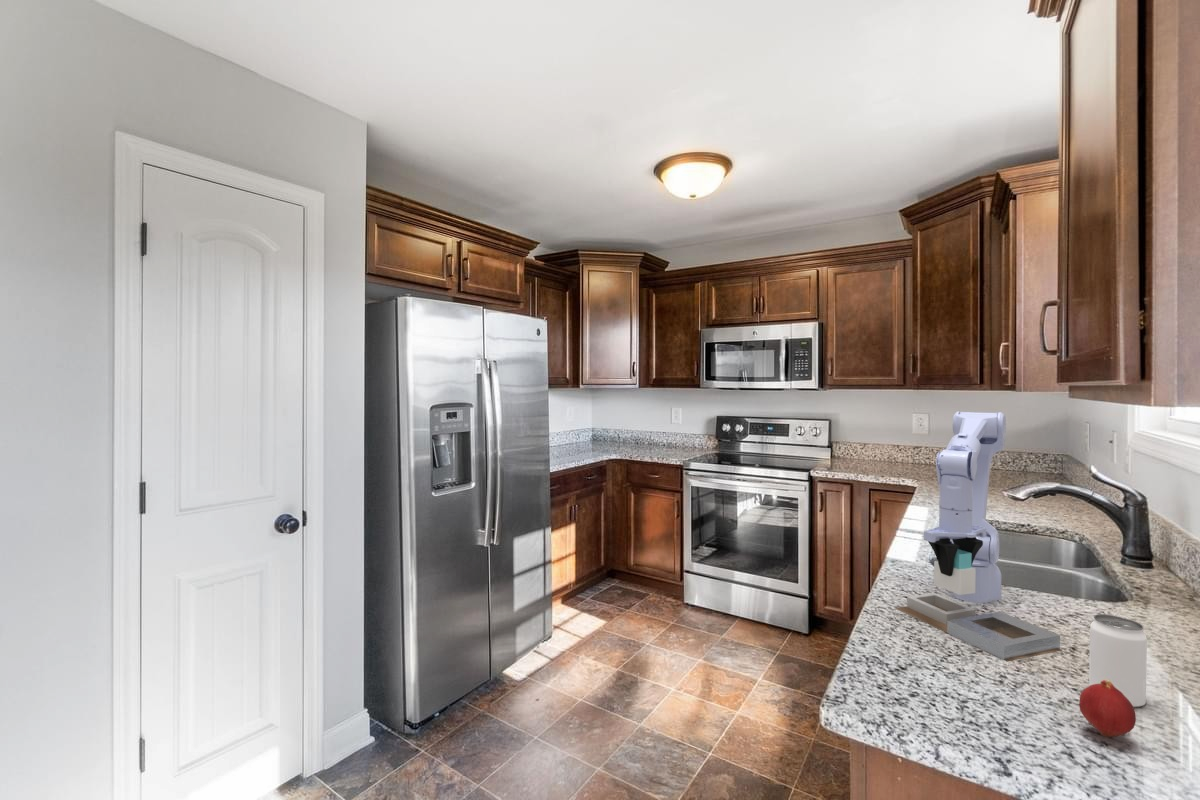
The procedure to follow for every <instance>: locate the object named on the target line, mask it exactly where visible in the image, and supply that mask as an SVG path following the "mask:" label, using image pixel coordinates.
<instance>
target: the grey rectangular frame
mask: <svg viewBox="0 0 1200 800" xmlns="http://www.w3.org/2000/svg"><path fill="white" fill-rule="evenodd" d="M906 598H907V599H906V600H907V602H906V606H907V607H908V608H911V609H913V610H915V611H917V612H919V613H921V614H924V615H926V616H928V617H930V618H932V619H934V620H937V621H939V622H941V623H943V624H945V625H947V620H952V619H959V618H965V617H971V616H976V614H977V610H976V608H972V607H971V606H968V605H966V604H963V603H961V602H958V601H956V600H953V599H950V598H948V597H945V596H943V595H941V594H938V593H936V592H931V593H926V594H918V595H911V596H907V597H906ZM933 605H936V606H938V607H940V608H943V609H945V610H947V612H946V611H944V610H942V609H939V608H937V607H935V606H933Z"/></svg>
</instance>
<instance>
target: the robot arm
mask: <svg viewBox="0 0 1200 800" xmlns="http://www.w3.org/2000/svg"><path fill="white" fill-rule="evenodd" d="M1006 421H1007V420H1006V415H1005V414H1004V413H1003V412H1002V411H1001V412H1000V411H999V412H976V411H975V412H972V411H967V412H966V411H960V410H959V411H956V412H955V413H954V414H953V418H952V433H953V434H954V435H953V436H952V437H951V438H950V440H949V442H948V444H947V446H946V447H945V449H942V451H938V452H937V454H936V457H935V459H936V460H935V469H936V474H937V485H938V486H939V508H938V509H939V512H938V515H939V516H938V522H939V524H938V526H936V527H934V528H931V529H928V530H923V541H926V542H928V544H929V546H930V547H931V549H932V550H933V552H934V555H935V557H936V561H938V564H939V568H940V572H941V573H942V574H944V575H947V576H952V574H953V568H954V559H955V555H956V552H957V550H958V549H960V550H963V551H966V552H969V553H972V556H971V567H972V568H975V569H976V579H975V593H972V594H964V595H959V594H956V593H954V592H951V595H952V596H953V597H955V598H957V599H959V600H962V601H965V602H970V603H974V604H975V603H976V604H986V603H990V602H992V601H997V600H1002V572H1001V570H1000V568H999V567H998V565H997V563H998V562H999V556H1000V533H999V532H998V529H996V528H995V527H994V526H993V524H990V523H989V522H988V521H986V516H987V507H988V498H989V496H988V495H989V486H990V485H989V484H990V477H991V476H990V473H991V464H992V460H993V458H994V455H995V454H996V453H998V452H1001V451H1002V450H1004V449H1003V448H1004V446H1005V440H1006V439H1005V438H1006V429H1007V426H1006V425H1007V423H1006ZM1002 601H1004V600H1002Z"/></svg>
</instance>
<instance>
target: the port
mask: <svg viewBox="0 0 1200 800" xmlns="http://www.w3.org/2000/svg"><path fill="white" fill-rule="evenodd" d="M992 630H995V631H997V632H1000V633H1002V634H1004V635H1007V636H1009V637H1011V638H1014V639H1011V638H1008V637H1006V636H1004V635H1002V634H999V633H997V632H995V631H992ZM946 634H949V635H950V634H951V635H950V636H952V635H953V636H952V637H954V636H955V638H956V637H957V639H958V638H959V640H961V641H962V642H965V643H967V644H969V645H971V644H972V645H971V646H973V645H974V646H973V647H975V646H976V647H975V648H977V647H978V649H979V648H980V650H982V651H984V652H986V653H988V654H990V655H992V654H993V656H994V655H995V656H994V657H996V656H997V658H998V657H999V658H998V659H1000V658H1001V659H1000V660H1002V659H1003V660H1002V661H1005V660H1007V659H1012V658H1017V657H1021V656H1026V655H1031V654H1036V653H1041V652H1046V651H1051V650H1056V649H1061V635H1060V634H1058V633H1056V632H1052V631H1051V630H1048V629H1045V628H1043V627H1040V626H1038V625H1035V624H1032V623H1030V622H1028V621H1025V620H1023V619H1020V618H1017V617H1014V616H1012V615H1009V614H1008V613H1005V612H1002V611H996V612H989V613H984V614H978V615H977V616H971V617H965V618H959V619H952V620H947V633H946Z"/></svg>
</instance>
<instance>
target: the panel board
mask: <svg viewBox="0 0 1200 800" xmlns="http://www.w3.org/2000/svg"><path fill="white" fill-rule="evenodd" d="M933 606H935V607H937V608H939V609H942V610H944V611H946V612H947V610H945V609H943V608H940V607H938V606H936V605H933ZM895 609H896V610H898V611H900V612H902V613H904V614H906V615H908V616H910V617H913V618H914V619H917V620H919V621H920V622H923V623H925V624H928V625H930V626H931V627H934V628H935V629H938V630H940V631H942V632H944V633H946V634H948V633H947V625H945V624H943V623H941V622H939V621H937V620H934V619H932V618H930V617H928V616H926V615H924V614H921V613H919V612H917V611H915V610H913V609H911V608H908V607H907V605H906V606H901V607H895ZM977 615H979V614H977V613H976V616H977ZM992 631H995V630H992ZM995 632H997V631H995ZM997 633H999V634H1002V633H1000V632H997ZM949 635H950V636H952V637H955V636H953V635H951V634H949ZM1002 635H1004V634H1002ZM1004 636H1006V637H1008V638H1011V637H1009V636H1007V635H1004ZM955 638H957V637H955ZM957 639H959V638H957ZM1011 639H1014V638H1011ZM959 640H960V639H959ZM970 645H971V646H973V647H975V648H978V647H976V646H974V645H972V644H970ZM978 649H980V648H978ZM980 650H981V649H980ZM1061 651H1063V649H1061V648H1060V649H1056V650H1051V651H1046V652H1041V653H1036V654H1031V655H1026V656H1021V657H1017V658H1012V659H1007V660H1003V659H1001V658H999V657H997V656H995V655H993V654H991V655H993V656H994V657H997V658H998V659H1000V660H1002V661H1005V662H1012V661H1017V660H1022V659H1026V658H1031V657H1037V656H1041V655H1046V654H1051V653H1057V652H1061ZM1060 655H1063V653H1062V654H1060ZM1056 656H1058V654H1056V655H1055V657H1056ZM1050 657H1053V655H1051V656H1050ZM1045 658H1048V657H1045ZM1042 659H1044V657H1042V658H1041V660H1042ZM1036 660H1039V658H1038V659H1036ZM1031 661H1034V660H1031ZM1027 662H1029V661H1026V663H1027ZM1022 663H1024V662H1021V664H1022ZM1016 664H1018V665H1019V663H1016ZM1012 665H1015V663H1014V664H1012ZM1009 666H1010V665H1009V664H1008V665H1007V667H1009Z"/></svg>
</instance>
